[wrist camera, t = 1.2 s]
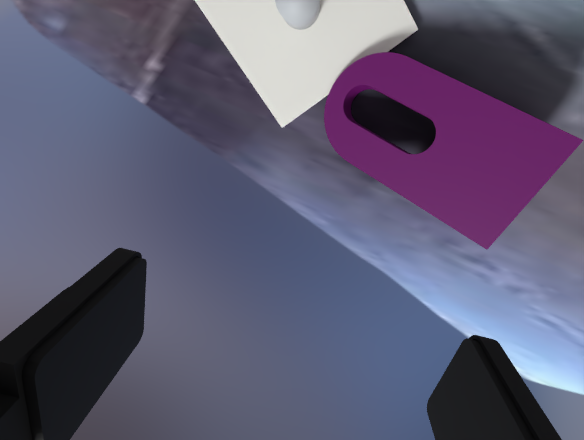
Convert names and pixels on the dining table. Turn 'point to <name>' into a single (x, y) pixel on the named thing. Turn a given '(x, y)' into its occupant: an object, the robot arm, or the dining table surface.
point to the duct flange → (304, 43)
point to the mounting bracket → (448, 145)
